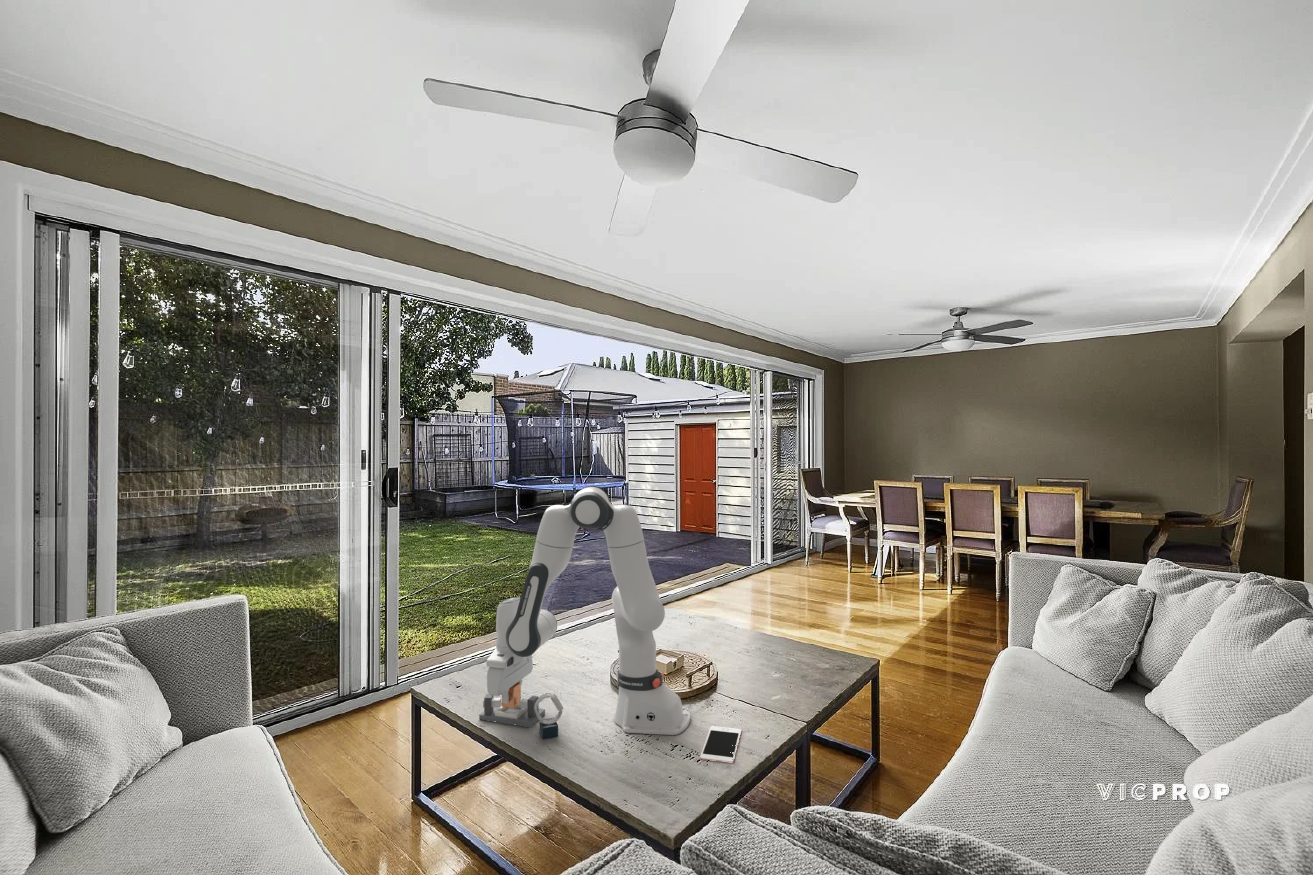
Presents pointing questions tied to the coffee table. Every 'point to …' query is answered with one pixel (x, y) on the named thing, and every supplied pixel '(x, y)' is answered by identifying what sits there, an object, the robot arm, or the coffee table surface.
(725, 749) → the cell phone
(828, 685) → the coffee table surface
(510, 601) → the robot arm
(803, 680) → the coffee table surface
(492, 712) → the stand
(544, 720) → the watch
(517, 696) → the block
